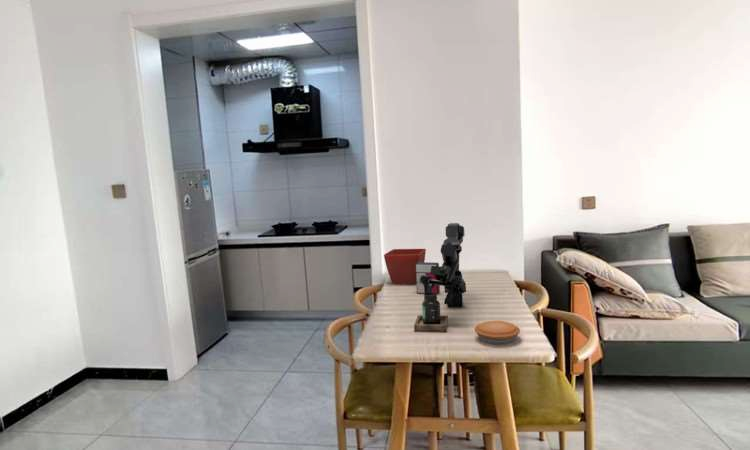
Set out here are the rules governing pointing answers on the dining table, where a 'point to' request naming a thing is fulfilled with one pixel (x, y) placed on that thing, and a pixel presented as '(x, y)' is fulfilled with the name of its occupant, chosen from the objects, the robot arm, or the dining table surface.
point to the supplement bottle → (431, 309)
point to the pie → (497, 332)
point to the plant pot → (403, 264)
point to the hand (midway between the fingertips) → (434, 302)
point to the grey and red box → (425, 269)
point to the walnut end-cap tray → (431, 325)
